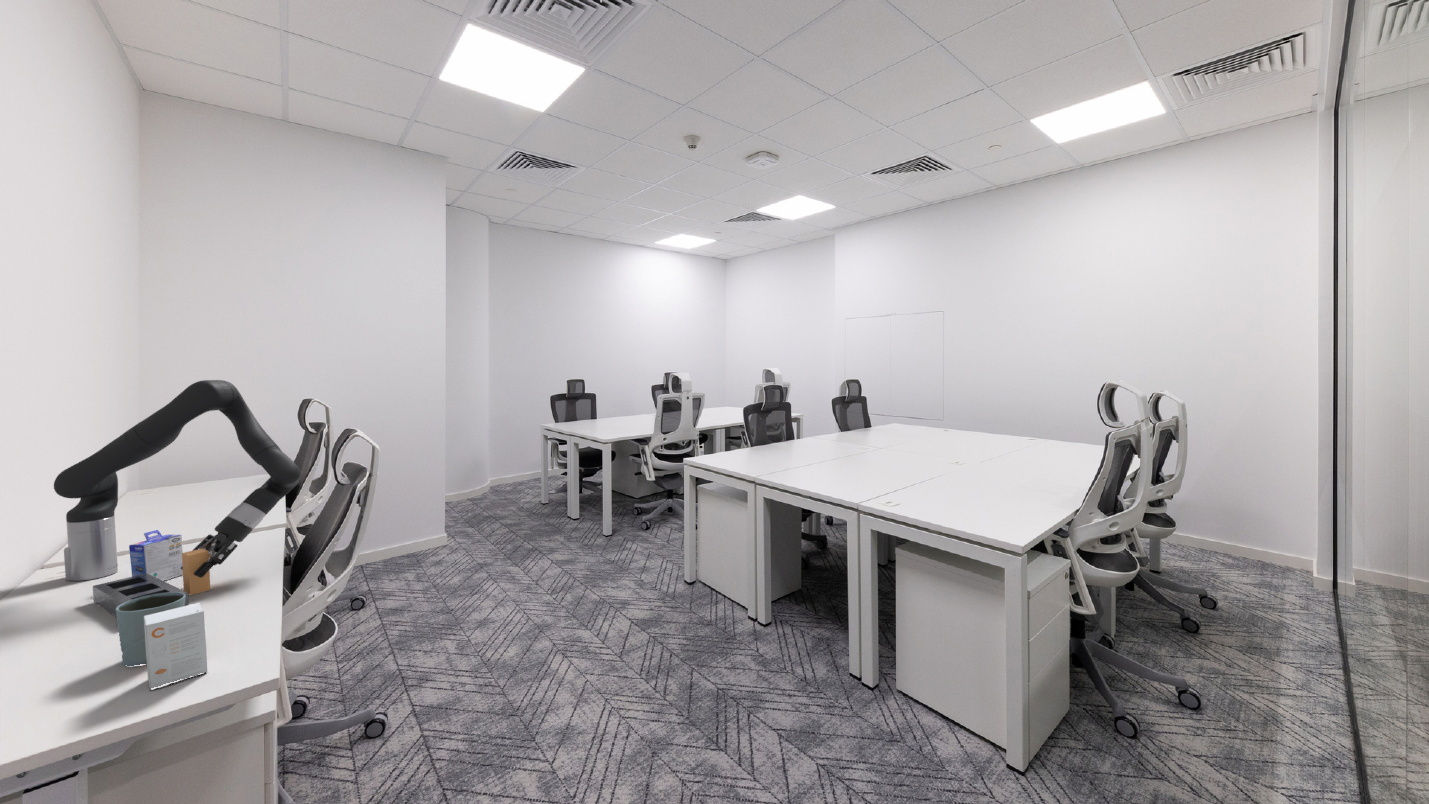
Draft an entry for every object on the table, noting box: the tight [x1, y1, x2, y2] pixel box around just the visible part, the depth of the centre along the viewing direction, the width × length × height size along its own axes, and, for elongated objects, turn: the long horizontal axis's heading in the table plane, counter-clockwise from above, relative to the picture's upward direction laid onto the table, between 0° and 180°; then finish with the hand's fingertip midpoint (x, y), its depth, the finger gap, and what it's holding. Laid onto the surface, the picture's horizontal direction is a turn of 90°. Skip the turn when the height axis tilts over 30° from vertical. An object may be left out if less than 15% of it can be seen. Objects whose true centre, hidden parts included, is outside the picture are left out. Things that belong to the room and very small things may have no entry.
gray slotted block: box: [92, 573, 190, 618], centre depth 136 cm, size 28×10×4 cm, turn 62°
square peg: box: [182, 549, 211, 596], centre depth 146 cm, size 4×4×11 cm
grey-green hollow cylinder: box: [115, 592, 186, 666], centre depth 112 cm, size 10×10×12 cm
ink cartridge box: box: [128, 529, 184, 582], centre depth 153 cm, size 10×6×14 cm, turn 174°
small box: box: [144, 602, 208, 690], centre depth 104 cm, size 8×6×13 cm
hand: (190, 573), depth 145 cm, fingers open, 8 cm apart
